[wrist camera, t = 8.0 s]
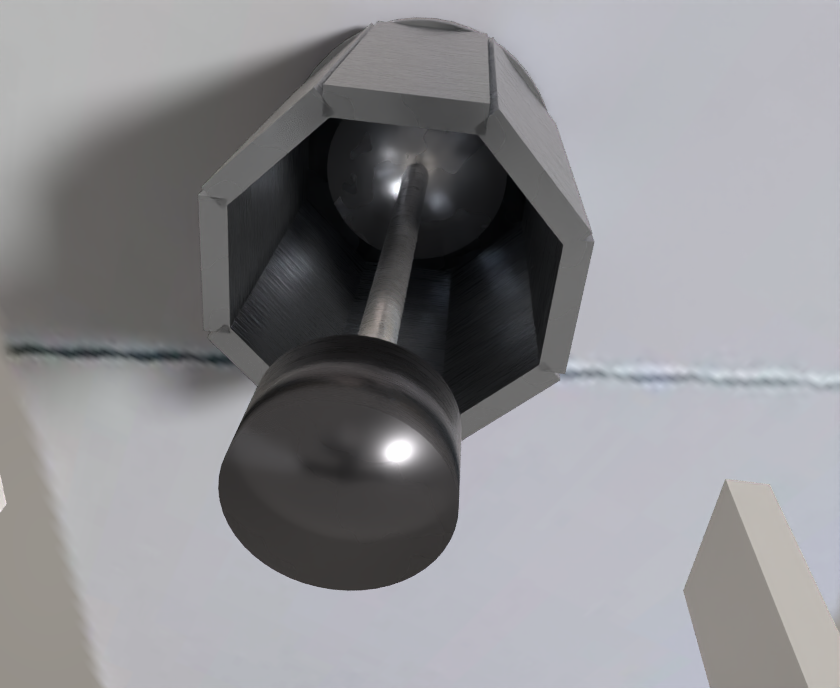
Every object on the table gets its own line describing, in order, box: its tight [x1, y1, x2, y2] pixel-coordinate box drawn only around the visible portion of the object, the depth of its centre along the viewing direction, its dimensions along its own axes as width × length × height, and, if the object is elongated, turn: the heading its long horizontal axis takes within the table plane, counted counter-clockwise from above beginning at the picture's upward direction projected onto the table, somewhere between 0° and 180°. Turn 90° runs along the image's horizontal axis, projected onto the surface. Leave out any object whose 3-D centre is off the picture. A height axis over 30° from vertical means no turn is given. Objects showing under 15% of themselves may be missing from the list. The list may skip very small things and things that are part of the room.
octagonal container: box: [198, 18, 594, 441], centre depth 29 cm, size 14×11×13 cm
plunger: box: [218, 119, 507, 590], centre depth 23 cm, size 7×7×21 cm
